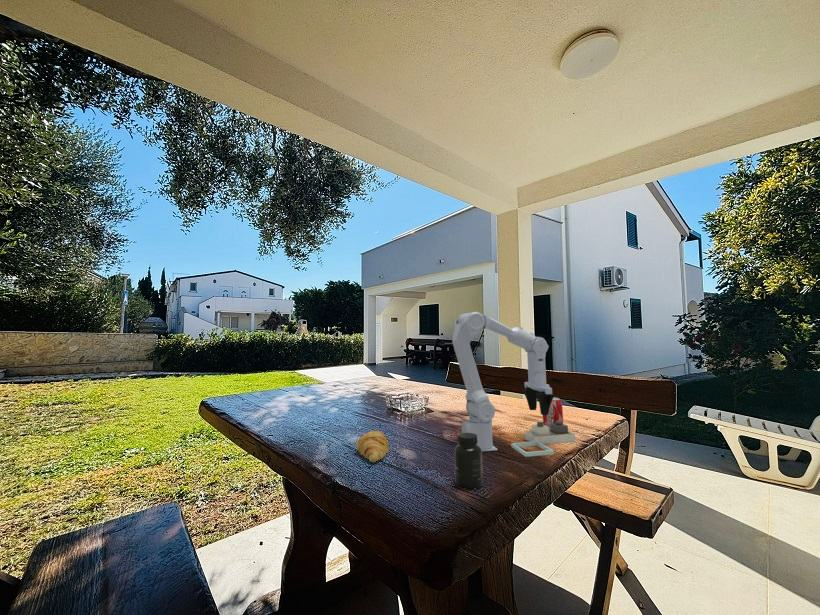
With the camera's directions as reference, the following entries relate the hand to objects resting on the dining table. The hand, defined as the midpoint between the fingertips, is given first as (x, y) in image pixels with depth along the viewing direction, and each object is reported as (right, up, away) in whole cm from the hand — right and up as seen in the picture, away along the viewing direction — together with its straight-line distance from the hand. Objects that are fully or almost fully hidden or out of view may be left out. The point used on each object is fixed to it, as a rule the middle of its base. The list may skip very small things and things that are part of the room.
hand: (538, 412), depth 121 cm
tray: (-6, -9, -10) cm, 15 cm away
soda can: (+10, -11, +12) cm, 19 cm away
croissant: (-56, -11, -8) cm, 57 cm away
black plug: (+7, -9, 0) cm, 12 cm away
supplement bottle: (-29, -9, -32) cm, 44 cm away
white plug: (+1, -9, -1) cm, 9 cm away
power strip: (+4, -10, 0) cm, 10 cm away
